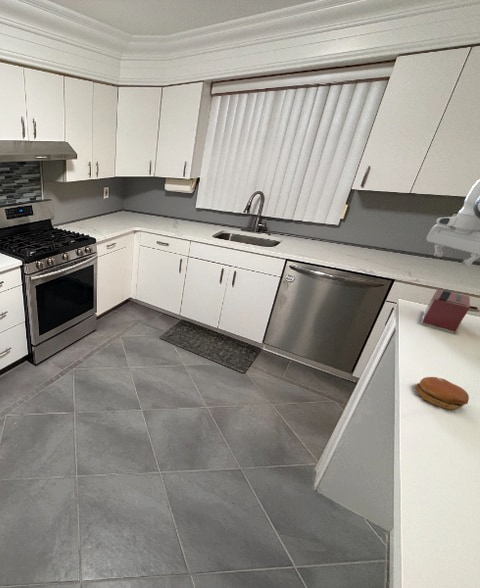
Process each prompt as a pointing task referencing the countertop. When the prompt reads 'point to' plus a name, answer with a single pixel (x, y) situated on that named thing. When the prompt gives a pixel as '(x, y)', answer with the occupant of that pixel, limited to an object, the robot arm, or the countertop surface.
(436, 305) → the toaster
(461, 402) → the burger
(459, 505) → the countertop surface
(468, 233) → the robot arm
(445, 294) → the browning slider
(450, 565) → the countertop surface
